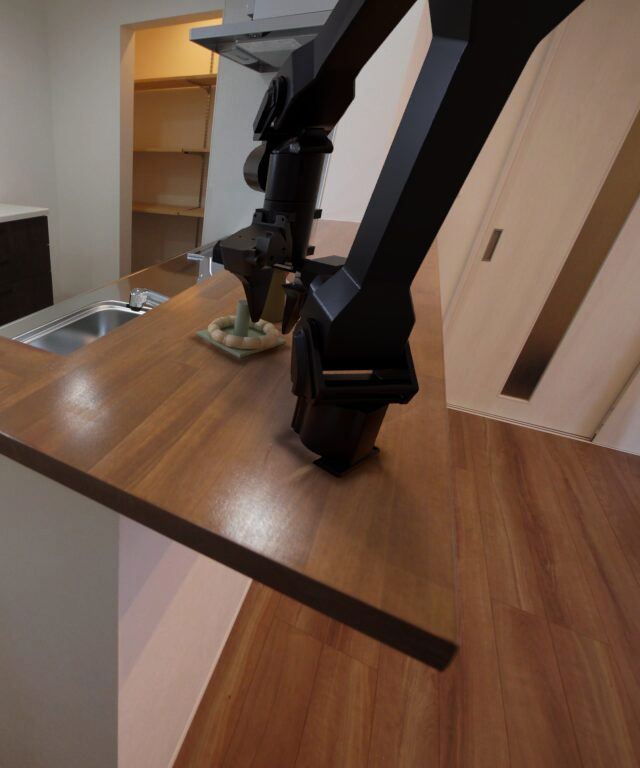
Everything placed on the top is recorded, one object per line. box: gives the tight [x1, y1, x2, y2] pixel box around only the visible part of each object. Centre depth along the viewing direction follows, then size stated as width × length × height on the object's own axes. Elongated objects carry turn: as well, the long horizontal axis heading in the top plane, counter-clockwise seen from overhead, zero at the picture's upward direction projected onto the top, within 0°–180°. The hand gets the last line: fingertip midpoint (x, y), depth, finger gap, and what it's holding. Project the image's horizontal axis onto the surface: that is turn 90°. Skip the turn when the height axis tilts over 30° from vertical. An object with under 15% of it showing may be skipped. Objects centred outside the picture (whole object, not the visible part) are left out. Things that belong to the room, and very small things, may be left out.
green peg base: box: [195, 299, 287, 359], centre depth 60 cm, size 9×9×6 cm
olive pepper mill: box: [260, 262, 292, 323], centre depth 69 cm, size 6×6×11 cm
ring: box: [207, 315, 280, 349], centre depth 60 cm, size 10×10×2 cm
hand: (269, 327), depth 56 cm, fingers open, 5 cm apart
